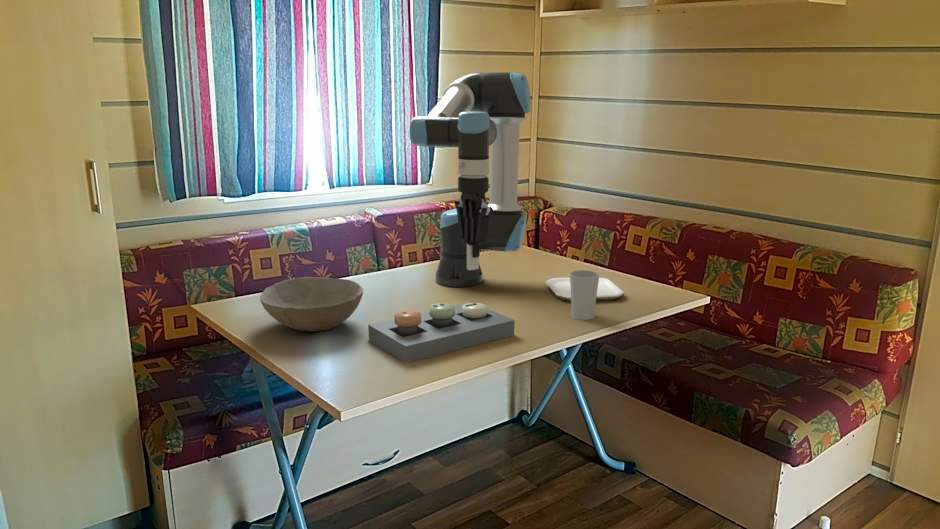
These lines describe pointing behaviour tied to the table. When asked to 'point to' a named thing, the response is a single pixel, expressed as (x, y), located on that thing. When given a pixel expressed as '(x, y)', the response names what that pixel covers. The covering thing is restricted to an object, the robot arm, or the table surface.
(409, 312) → the button one
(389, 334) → the console
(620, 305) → the table surface
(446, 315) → the button two
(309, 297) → the bowl
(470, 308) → the button three
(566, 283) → the plate
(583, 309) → the cup
